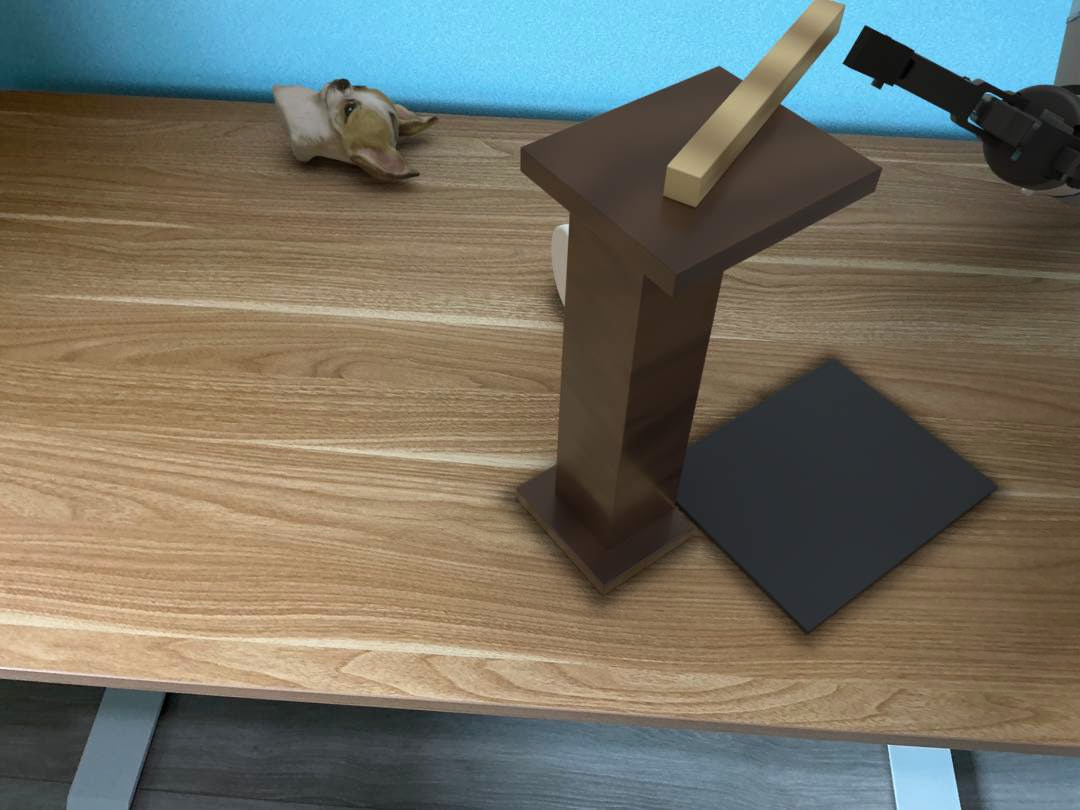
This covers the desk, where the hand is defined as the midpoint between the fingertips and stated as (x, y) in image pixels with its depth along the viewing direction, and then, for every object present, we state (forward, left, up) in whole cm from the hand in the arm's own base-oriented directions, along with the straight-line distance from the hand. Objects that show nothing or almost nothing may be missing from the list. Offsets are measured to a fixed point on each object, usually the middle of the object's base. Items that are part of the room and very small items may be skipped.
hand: (940, 92), depth 62 cm
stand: (0, +21, -25) cm, 33 cm away
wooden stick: (+2, +15, +4) cm, 16 cm away
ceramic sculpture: (+48, +17, -25) cm, 57 cm away
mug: (+15, +10, -25) cm, 31 cm away
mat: (-7, +10, -25) cm, 28 cm away
